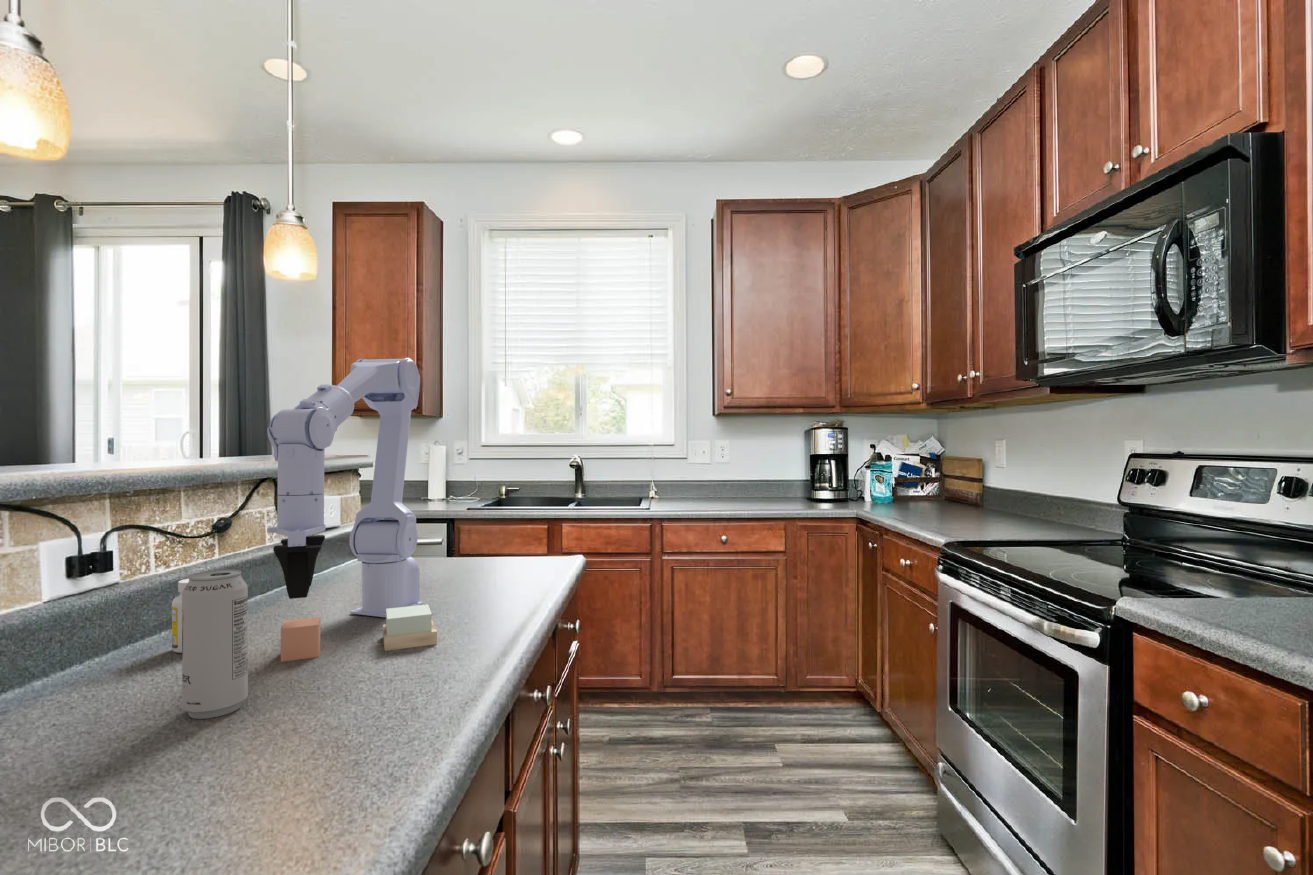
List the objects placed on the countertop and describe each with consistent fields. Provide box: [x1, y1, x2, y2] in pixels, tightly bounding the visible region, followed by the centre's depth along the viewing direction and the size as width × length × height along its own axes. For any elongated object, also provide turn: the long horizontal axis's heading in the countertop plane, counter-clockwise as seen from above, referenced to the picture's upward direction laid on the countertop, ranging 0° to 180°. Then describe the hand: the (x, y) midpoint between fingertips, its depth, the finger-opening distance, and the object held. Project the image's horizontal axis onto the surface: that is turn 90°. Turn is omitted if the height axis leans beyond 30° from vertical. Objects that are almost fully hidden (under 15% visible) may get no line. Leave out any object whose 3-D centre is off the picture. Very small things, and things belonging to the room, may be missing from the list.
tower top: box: [385, 604, 433, 636], centre depth 96 cm, size 6×6×2 cm
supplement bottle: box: [171, 578, 189, 654], centre depth 93 cm, size 5×5×10 cm
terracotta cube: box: [280, 616, 321, 663], centre depth 90 cm, size 4×4×4 cm
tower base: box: [382, 620, 438, 652], centre depth 96 cm, size 7×7×2 cm
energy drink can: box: [181, 569, 249, 720], centre depth 72 cm, size 6×6×15 cm
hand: (300, 592), depth 90 cm, fingers open, 7 cm apart
